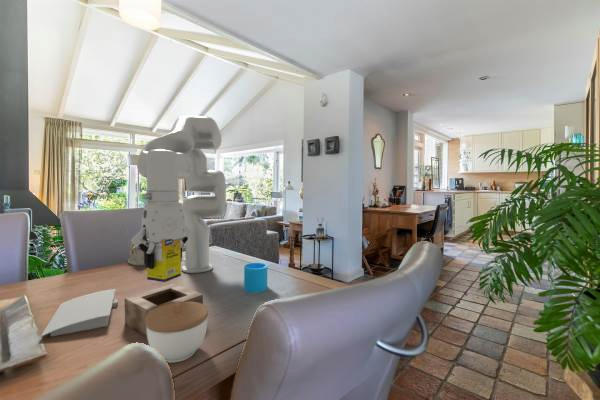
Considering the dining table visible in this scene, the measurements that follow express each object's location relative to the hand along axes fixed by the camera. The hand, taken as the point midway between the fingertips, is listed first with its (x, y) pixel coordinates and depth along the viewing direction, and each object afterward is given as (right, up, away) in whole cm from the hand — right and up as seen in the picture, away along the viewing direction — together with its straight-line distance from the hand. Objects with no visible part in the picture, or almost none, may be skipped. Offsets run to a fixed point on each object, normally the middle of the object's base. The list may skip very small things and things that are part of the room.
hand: (164, 264), depth 78 cm
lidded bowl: (+9, -17, -13) cm, 23 cm away
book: (-23, -16, +4) cm, 28 cm away
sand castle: (-36, -12, +61) cm, 72 cm away
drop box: (0, -16, +1) cm, 16 cm away
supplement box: (0, -4, 0) cm, 4 cm away
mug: (+20, -15, +29) cm, 38 cm away
